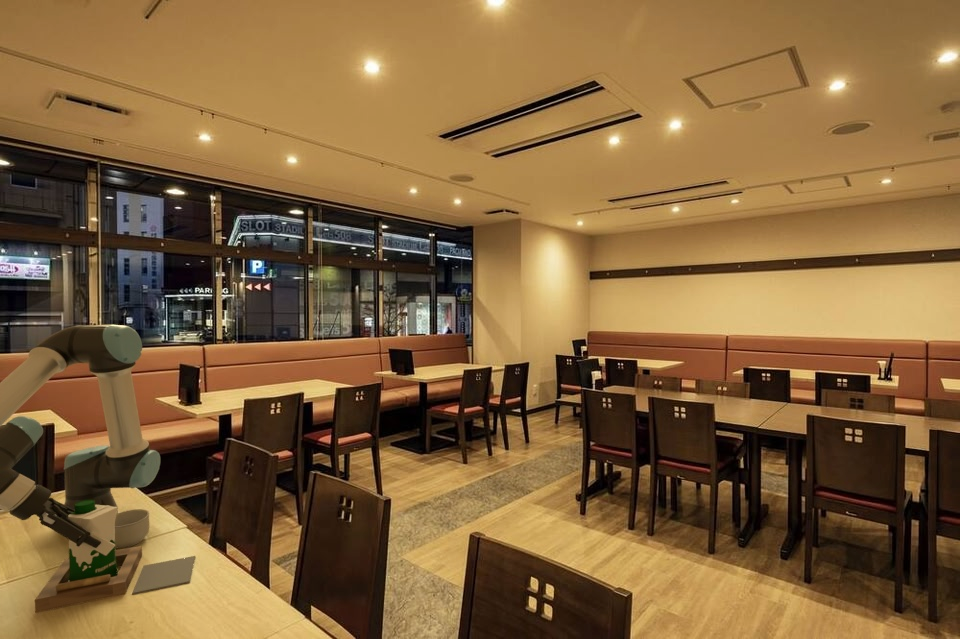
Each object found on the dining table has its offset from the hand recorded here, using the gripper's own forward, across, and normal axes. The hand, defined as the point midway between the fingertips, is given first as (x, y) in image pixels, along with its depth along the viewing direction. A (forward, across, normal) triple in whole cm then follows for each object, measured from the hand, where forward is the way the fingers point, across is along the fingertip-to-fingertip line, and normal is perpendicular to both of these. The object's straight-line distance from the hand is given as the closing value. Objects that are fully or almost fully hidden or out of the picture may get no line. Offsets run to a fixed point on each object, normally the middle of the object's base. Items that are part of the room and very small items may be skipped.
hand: (108, 543), depth 127 cm
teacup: (+10, -21, -3) cm, 23 cm away
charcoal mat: (+14, +8, +2) cm, 16 cm away
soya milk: (+4, 0, -9) cm, 10 cm away
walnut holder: (+4, 0, -8) cm, 9 cm away
